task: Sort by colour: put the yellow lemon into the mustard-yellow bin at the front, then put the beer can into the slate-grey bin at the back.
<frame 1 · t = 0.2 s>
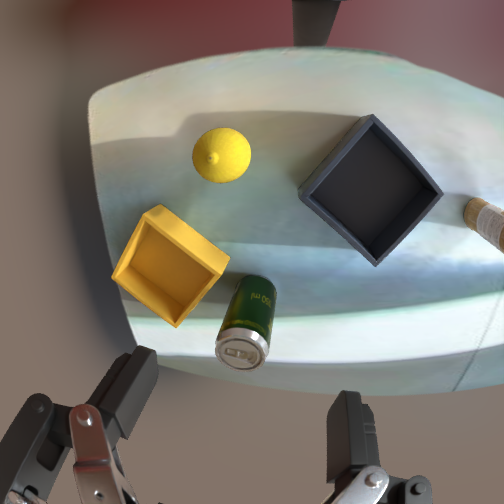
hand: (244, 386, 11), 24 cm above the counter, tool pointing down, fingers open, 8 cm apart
beer can: (256, 290, 36), on the counter
sprinkles bottle: (474, 212, 27), on the counter
yellow bin: (173, 260, 36), on the counter
slate bin: (366, 186, 29), on the counter
lemon: (231, 152, 30), on the counter
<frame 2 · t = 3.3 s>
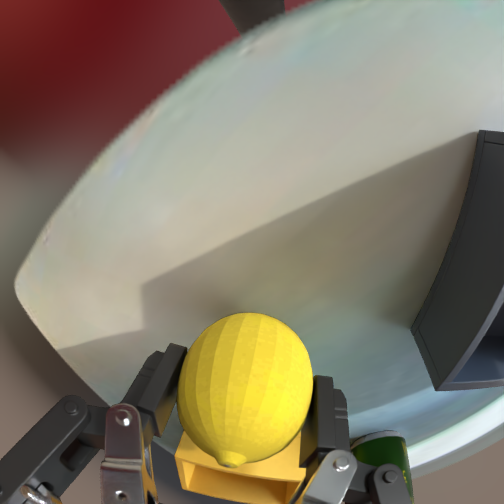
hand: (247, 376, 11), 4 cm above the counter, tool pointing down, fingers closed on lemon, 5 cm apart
beer can: (375, 441, 19), on the counter
yellow bin: (250, 450, 21), on the counter
lemon: (258, 323, 14), on the counter, touching gripper
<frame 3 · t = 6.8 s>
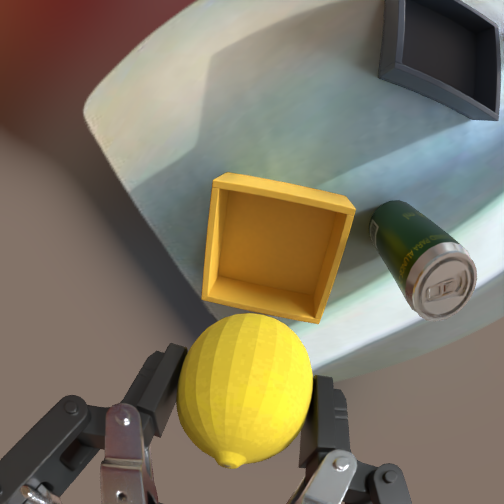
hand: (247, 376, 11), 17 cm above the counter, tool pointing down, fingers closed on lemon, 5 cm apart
beer can: (391, 224, 25), on the counter
yellow bin: (275, 238, 27), on the counter
slate bin: (434, 50, 16), on the counter
lemon: (258, 324, 14), point 14 cm above the counter, touching gripper
when the fingers open (4 cm above the counter, at t = 10.3 s): lemon stays where it is, resting on yellow bin.
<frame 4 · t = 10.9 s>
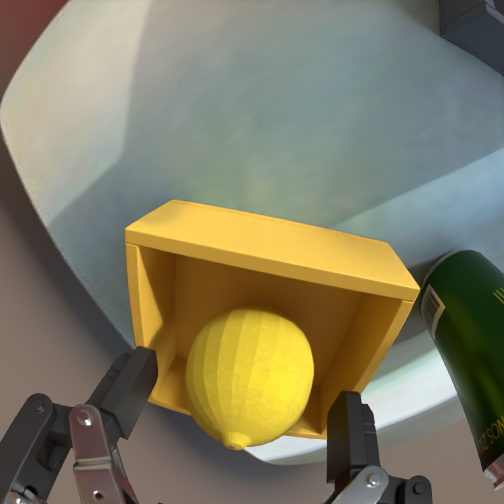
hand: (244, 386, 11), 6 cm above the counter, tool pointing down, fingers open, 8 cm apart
beer can: (450, 284, 13), on the counter
yellow bin: (261, 311, 16), on the counter
lemon: (261, 315, 15), resting on yellow bin
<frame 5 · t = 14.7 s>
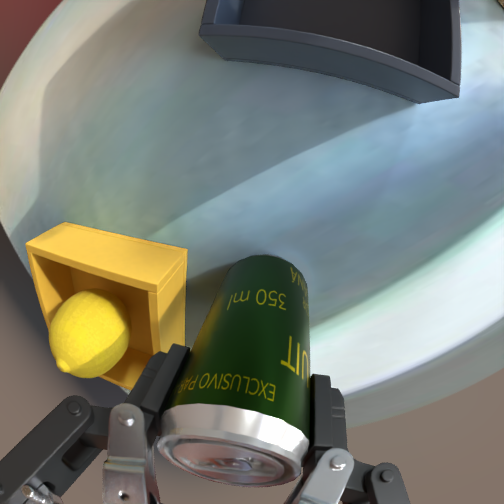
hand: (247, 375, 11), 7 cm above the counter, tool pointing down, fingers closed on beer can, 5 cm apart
beer can: (266, 286, 18), on the counter, touching gripper
yellow bin: (122, 297, 20), on the counter
lemon: (119, 299, 20), resting on yellow bin
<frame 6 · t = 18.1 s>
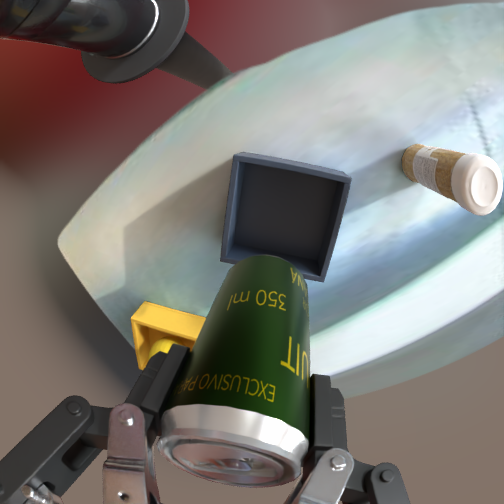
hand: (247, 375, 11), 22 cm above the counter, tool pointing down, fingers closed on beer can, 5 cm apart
beer can: (266, 286, 18), point 15 cm above the counter, touching gripper
sprinkles bottle: (416, 163, 26), on the counter
yellow bin: (178, 337, 41), on the counter
slate bin: (284, 209, 31), on the counter
lemon: (177, 339, 41), resting on yellow bin
when the fingers open (8 cm above the counter, at t = 21.9 s): beer can stays where it is, resting on slate bin.
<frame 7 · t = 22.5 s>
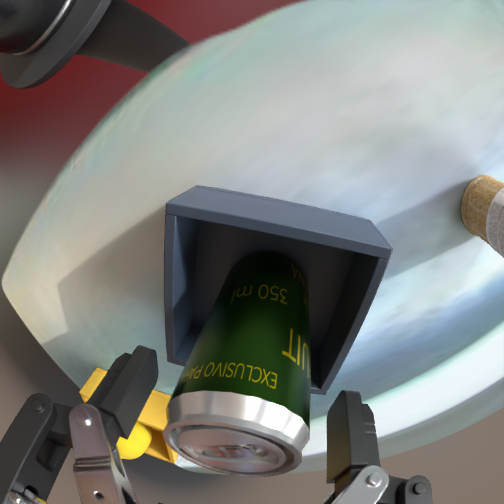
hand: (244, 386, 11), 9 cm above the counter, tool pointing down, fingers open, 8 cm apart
beer can: (268, 283, 19), resting on slate bin
sprinkles bottle: (479, 204, 14), on the counter
yellow bin: (142, 407, 30), on the counter
slate bin: (268, 279, 19), on the counter
lemon: (141, 409, 29), resting on yellow bin
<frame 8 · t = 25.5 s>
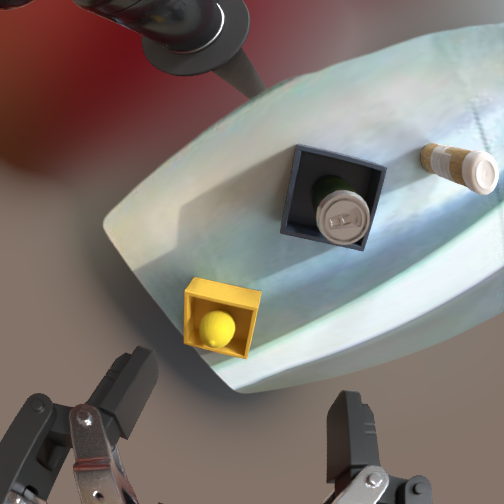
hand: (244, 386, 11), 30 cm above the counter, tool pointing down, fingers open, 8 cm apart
beer can: (329, 193, 36), resting on slate bin
sprinkles bottle: (431, 158, 31), on the counter
yellow bin: (223, 311, 47), on the counter
slate bin: (329, 192, 36), on the counter
lemon: (223, 312, 46), resting on yellow bin
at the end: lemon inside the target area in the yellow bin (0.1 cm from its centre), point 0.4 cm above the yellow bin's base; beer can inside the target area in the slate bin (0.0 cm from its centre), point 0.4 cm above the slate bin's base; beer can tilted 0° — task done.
